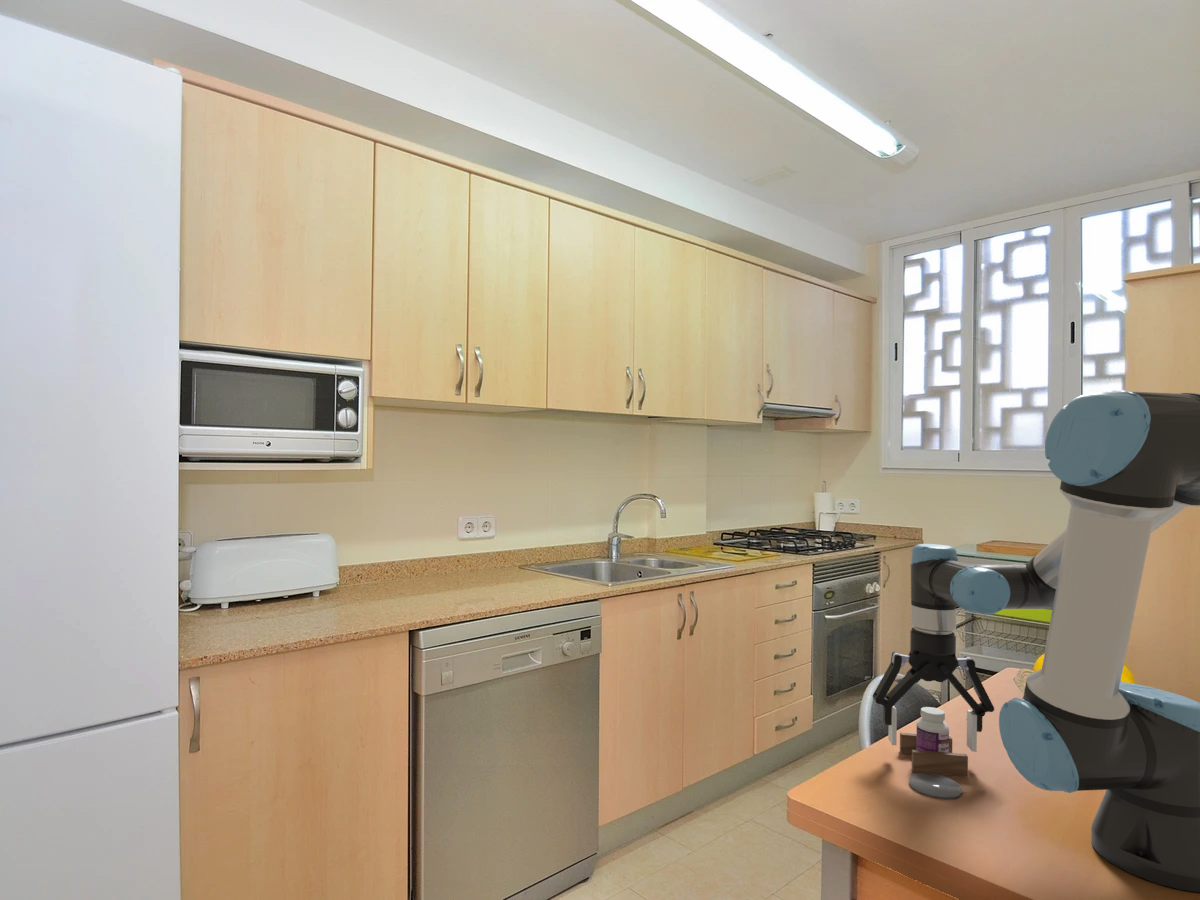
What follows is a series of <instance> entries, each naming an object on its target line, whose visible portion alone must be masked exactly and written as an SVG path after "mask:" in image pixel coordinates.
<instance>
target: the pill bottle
mask: <svg viewBox="0 0 1200 900" xmlns="http://www.w3.org/2000/svg"><path fill="white" fill-rule="evenodd" d="M920 717H921V718H919V719H918V720H917V722H916V734H917V743H916V750H921V751H933V752H946V753H949V735H950V729H949V726H948V724H947V723H946V722H945V719H946V712H945V711H944V710H942V709H940V708H937V707H933V706H932V707H931V706H923V707H921V708H920Z"/></svg>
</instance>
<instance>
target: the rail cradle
mask: <svg viewBox="0 0 1200 900" xmlns="http://www.w3.org/2000/svg"><path fill="white" fill-rule="evenodd" d="M916 743H917V733H909V732H908V733H907V732H900V733H899V753H900V754H902V755H903V754H904V755H911V771H912V772H913V773H930V774H936V775H942V776H943V775H944V776H958V777H969V757H968V756H969V755H968V754H967V753H957V752H955V753H954V752H953V738H952V736H949V753H946V752H933V751H921V750H916Z"/></svg>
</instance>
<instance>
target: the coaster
mask: <svg viewBox="0 0 1200 900" xmlns="http://www.w3.org/2000/svg"><path fill="white" fill-rule="evenodd" d="M908 784H909V786H910V787H911V788H912V789H913V790H914V791H916V792H917V793H920V794H923V795H924V796H929V797H932V798H937V799H944V800H945V799H946V800H951V799H957V798H959V797H961V796H962V794H963V788H962V786H961V785H960V784H959V783H958V782H957V781H955V780H953V779H951V778H949V777H947V776H945V775H944V776H943V775H941V774H931V773H919V772H917V773H914V774H911V775H910V776H909V778H908Z"/></svg>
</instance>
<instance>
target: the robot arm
mask: <svg viewBox="0 0 1200 900" xmlns="http://www.w3.org/2000/svg"><path fill="white" fill-rule="evenodd" d="M1044 455H1045V459H1047V460H1049V462H1048V464H1047V466H1048V468H1049V470H1050V471H1051V473H1052V474H1053V475H1054V476H1055V477H1056V478H1057V479H1059V480H1060V487H1059V492H1060V493H1061V494H1062V496H1063V497H1064V498H1065V499H1066V500H1067V501H1068V502H1069V504H1070V508H1069V515H1068V519H1067V525H1066V529H1064V530H1063V531H1062V532H1060V534H1059V535H1058V536H1057V537H1056V538H1055V537H1054V539H1053V540H1052V541H1051V542H1050V543H1048V545H1046V546H1045V547H1044V548H1043V549H1042V550H1041V551H1039V552H1038V553H1037V554H1036V555H1035V556H1034V557H1031V559H1029V561H1028V562H1026V563H1018V564H1015V563H1013V564H1012V563H1007V564H1006V563H1004V564H1002V563H1000V564H999V563H997V564H992V563H990V564H989V563H987V564H986V563H983V564H981V563H980V564H979V563H977V564H975V563H966V562H963V561H962V562H960V561H959V560H958V553H957V550H956V548H955V547H953V546H952V545H951V546H950V545H946V544H935V543H917V544H916V545H914V546H913V547H912V549H911V551H912V552H911V562H910V565H909V566H910V599H911V601H910V625H911V626H912V628H910V635H909V636H910V639H909V640H910V641H909V643H910V645H909V653H908V654H901V653H899V652H898V651H893V652H892V653H891V659H890V664H889V665H888V667H887V669H885V670H886V671H885V672H884V675H883V676H882V678H881V679H880V681H879V683H878V685H877V687H876V688H875V691H874V692H873V694H872V699H873V700H874V702H875V703H876V704H878V705H881V706H882V719H883V722H884V724H885V725H887V726H888V741H889V742H890V744H891V746H897V740H898V739H897V730H898V729H897V726H898V723H897V722H898V721H897V720H898V718H897V716H898V709H897V707H895V705H896V704H897V703H898V702H899V700H901V699H902V697H903V696H904V695H905V694H906V693H907V692H908V691H909V690H911V688H912V687H913V686H914V685H915V684H917V683H919V682H920V681H921V680H922V681H925V682H933V681H934V682H938V683H944V682H945V681H946V680H947V681H948V682H949V683H950V684H951V685H952V686H953V688H954V689H955V690H956V691H957V693H958V694H959V695H960V696H961V697H962V699H964V701H965V702H966V703H967V704H968V706H969V707H970V708H971V709H966V747H967V748H969V750H970V751H971V752H974V753H976V752H977V751H978V750H977V749H978V746H977V745H978V744H977V743H978V741H977V740H978V737H977V736H978V733H977V732H979V733H982V731H983V717H984V716H985V715H986V713H993V712H994V711H995V706H994V705H993V702H992V701H991V699H990V696H989V694H988V693H987V691H986V689H985V687H984V685H983V683H982V681H981V679H980V677H979V675H978V673H977V670H976V668H977V667H976V661H975V660H974V659H972V658H971V657H970V656H968V655H964V656H963V657H957V655H956V654H957V653H956V652H957V651H956V649H957V639H956V638H957V635H956V632H955V630H956V629H957V607H958V608H961V609H963V610H965V611H968V612H970V613H973V614H979V615H980V614H981V615H984V616H987V615H988V616H990V615H991V616H992V615H995V614H997V613H998V612H1000V611H1002V610H1049V611H1051V616H1050V622H1049V627H1048V632H1047V639H1046V642H1045V643H1046V645H1045V648H1044V653H1043V658H1042V659H1043V660H1042V666H1041V669H1038V670H1036V671H1033V672H1031V673H1029V674H1028V675H1027V677H1026V680H1025V686H1024V690H1023V691H1024V692H1023V696H1022V698H1020V697H1019V698H1018V697H1014V698H1012V699H1009V700H1008V701H1006V702H1004V703H1003V704H1002V706H1001V708H1000V710H999V715H998V728H999V729H998V730H999V734H1000V738H1001V741H1002V745H1003V747H1004V749H1005V751H1006V753H1007V756H1008V758H1009V759H1010V761H1011V763H1012V764H1013V766H1014V768H1015V769H1016V770H1017V772H1018V773H1019V774H1020V776H1022V777H1023V778H1024V779H1025V780H1026V781H1027V782H1029V783H1030V784H1031V785H1033V786H1034V787H1036V788H1038V789H1041V790H1044V791H1051V792H1065V793H1069V794H1072V793H1075V792H1077V791H1078V792H1079V791H1080V792H1082V791H1102V790H1104V791H1105V793H1104V795H1103V797H1102V800H1101V803H1100V805H1099V807H1098V809H1097V811H1096V813H1095V816H1094V819H1093V821H1092V823H1091V834H1090V837H1091V845H1092V847H1093V848H1094V849H1095V851H1096V852H1097V853H1098V854H1099V855H1100V856H1101V857H1103V858H1104V859H1105V860H1106V861H1108V862H1110V863H1111V864H1112V865H1114V866H1116V867H1118V868H1120V869H1122V870H1124V871H1125V872H1127V873H1130V874H1132V875H1134V876H1136V877H1139V878H1140V879H1144V880H1146V881H1149V882H1152V883H1155V884H1158V885H1162V886H1166V887H1169V888H1172V889H1173V888H1174V889H1177V890H1181V891H1183V890H1184V891H1188V892H1190V891H1191V892H1198V893H1200V702H1199V701H1196V700H1194V699H1191V698H1189V697H1187V696H1184V695H1180V694H1177V693H1174V692H1172V691H1171V692H1170V691H1168V690H1163V689H1159V688H1156V687H1152V686H1151V687H1150V686H1148V685H1142V684H1137V683H1131V682H1123V681H1122V675H1123V671H1124V665H1125V661H1126V660H1125V659H1126V655H1127V651H1128V647H1129V641H1130V636H1131V631H1132V627H1133V623H1134V622H1133V621H1134V618H1135V617H1134V616H1135V611H1136V608H1137V601H1138V598H1139V591H1140V588H1141V583H1142V578H1143V577H1142V576H1143V572H1144V567H1145V563H1146V560H1147V559H1146V558H1147V553H1148V549H1149V543H1150V539H1151V534H1152V533H1154V532H1155V531H1156V530H1158V529H1159V528H1160V527H1162V526H1163V525H1165V524H1166V523H1167V522H1168V521H1170V520H1171V519H1172V518H1174V517H1175V516H1176V515H1178V514H1179V513H1180V512H1182V511H1184V510H1185V509H1186V508H1187V507H1200V393H1195V392H1194V393H1193V392H1181V393H1171V392H1147V391H1128V390H1112V391H1098V392H1097V391H1096V392H1089V393H1085V394H1082V395H1079V396H1077V397H1075V398H1072V399H1071V400H1070V401H1069V403H1068V404H1065V405H1064V406H1063V407H1061V408H1060V410H1059V411H1058V412H1057V413H1056V414H1055V416H1054V417H1053V419H1052V421H1051V422H1050V425H1049V427H1048V429H1047V432H1046V436H1045V441H1044ZM906 663H908V664H909V666H911V668H910V669H908V670H907V671H906V674H905V675H904V676H903V677H902V679H901V680H899V681H898V683H897V684H895V686H894V687H893V688H892V685H893V684H894V682H895V680H896V679H897V677H898V675H899V673H900V671H901V668H903V667H904V666H905V664H906ZM958 666H960V668H961V669H962V670H963V671H965V674H966V676H967V678H968V679H969V682H970V683H971V686H972V687H973V690H974V692H975V694H976V695H977V697H978V699H979V701H980V703H978V702H977V701H976V700H975V699H974V697H973V696H972V695H971V693H969V692H968V690H967V689H966V688H965V687H964V686H963V684H962V683H961V682H960V680H959V679H958V678H957V677H956V676H955V675H954V674H953V673H954V672H955V670H956V669H957V668H958ZM891 688H892V689H891ZM890 689H891V690H890Z"/></svg>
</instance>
